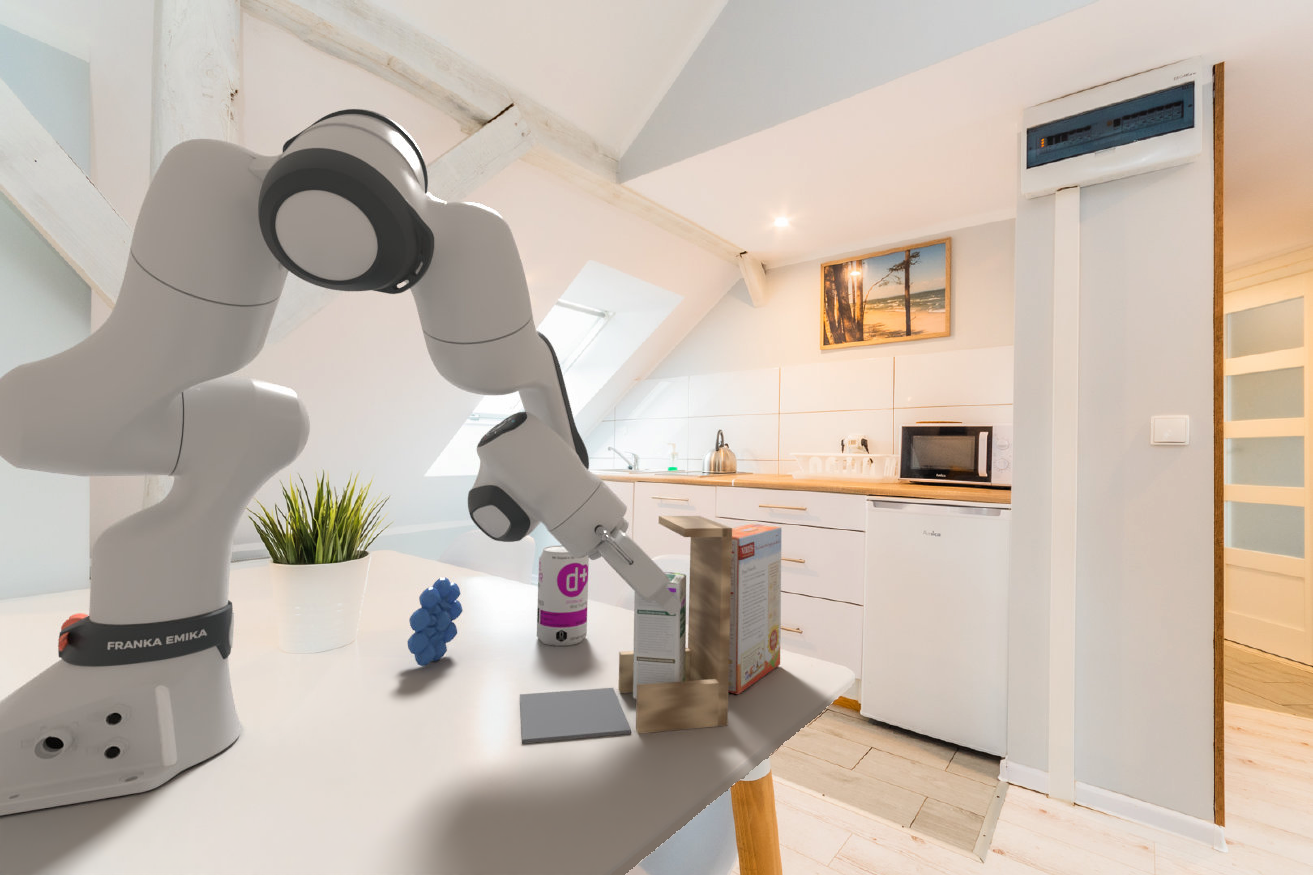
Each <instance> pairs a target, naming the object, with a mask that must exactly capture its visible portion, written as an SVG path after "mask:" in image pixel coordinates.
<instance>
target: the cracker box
mask: <svg viewBox="0 0 1313 875" xmlns="http://www.w3.org/2000/svg"><path fill="white" fill-rule="evenodd" d="M731 528H732V556H731V598H730V640H729V682H728V693H730V694H735V695H740V694H741V693H743V692H744V691H745V690H747V689H748V688H749V687H751V686H753V685H754V684H756V683H757V682H758V681H760V680H761V679H762V678H763V677H765V676H766V675H768V674H769V673H771V672H772V671H774V669H776V668H778V667H779V666H780V665H781V636H782V635H781V634H782V633H781V632H782V630H781V629H782V628H781V627H782V626H781V625H782V623H781V621H782V620H781V619H782V618H781V617H782V616H781V614H782V612H781V611H782V610H781V609H782V608H781V606H782V603H781V602H782V527H780V526H770V525H765V524H764V525H763V524H754V523H753V524H745V525H742V526H741V525H740V526H737V527H731Z"/></svg>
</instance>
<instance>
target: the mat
mask: <svg viewBox="0 0 1313 875" xmlns="http://www.w3.org/2000/svg"><path fill="white" fill-rule="evenodd" d="M519 710H520V729H521V730H520V731H521V733H520V734H521V744H529V743H530V744H531V743H540V742H541V743H542V742H552V741H562V740H572V739H573V740H574V739H583V738H586V739H587V738H596V737H607V736H618V735H630V734H632V729H631V726H630V724H629V722H628V720H627V717H626V714H625V712H624V710H623V707H622V706H621V703H620V700H619V698H618V696H617V693H616V691H615V689H614V687H605V688H603V687H602V688H589V689H577V690H565V691H563V690H562V691H547V692H535V693H534V692H533V693H522V694H521V693H520V694H519Z"/></svg>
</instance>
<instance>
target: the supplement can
mask: <svg viewBox="0 0 1313 875" xmlns="http://www.w3.org/2000/svg"><path fill="white" fill-rule="evenodd" d="M589 562H590V558H589V557H588V556H587V555H586V554H585V555H583V556H581V557H579V558H574V557H573V556H572V555H571V554H570V553H569V552H568V551H567V550H566V549H565V548H564V547H563V546H562V545H561V544H560V545H550V546H545V547H543V549H542V552H541V554H540V556H539V557H538V574H537V575H538V576H537V577H538V578H537V579H538V583H537V586H538V587H537V611H536V612H537V617H536V637H537V638H538V639H539V640H540V641H541V643H543V644H545V645H548V646H554V647H555V646H556V647H557V646H558V647H561V646H562V647H564V646H565V647H566V646H572V645H576V644H578V643H581V642H583V640H584V638H586V637H587V631H588V630H587V629H588V628H587V627H588V599H589V598H588V596H589V594H588V593H589V564H590V563H589Z"/></svg>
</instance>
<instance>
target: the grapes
mask: <svg viewBox="0 0 1313 875" xmlns="http://www.w3.org/2000/svg"><path fill="white" fill-rule="evenodd" d="M460 596H461V590H460V587H459V585H458V584H457V583H455V582H451V581H450V579H449V578H447V577H444V576H443V577H440V578H438V579H437V580H435V582H434V583H433V584H432V585H431V586H430V587H429V586H428V587H427V588H426V589H424V590H423V591H422V593H421V594H420V595H419V597H418V600H419V604H420V605H421V607H420V608H418V609H416V610H415V611H414V612H412V614H411V615H410V617H409V626H410V628H411V629H412V631H414V633H412V634H411V636H410V637H409V638H408V640H407V648H408V651H409V652H410V654H413V655H414V659H415V662H416V664H417V665H419V666H421V667H425V666H427V665H428V664H430V663H431V662H432V661H433V662H436V661H439V660H440V659H441V658H443V657H444V655H445V654H446V653H447V651H448V646H447V644H448V643H450V642H451V641H452V640H454V638H455V637H456V636H457V634H458V628H457V626H456V624H455V622H453V621H455V620H457V619H458V618H459V617H460V616H461V614H462V613H463V612H464V611H463V605H462V604H461V602H460V600H458V599H459V597H460Z"/></svg>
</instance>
